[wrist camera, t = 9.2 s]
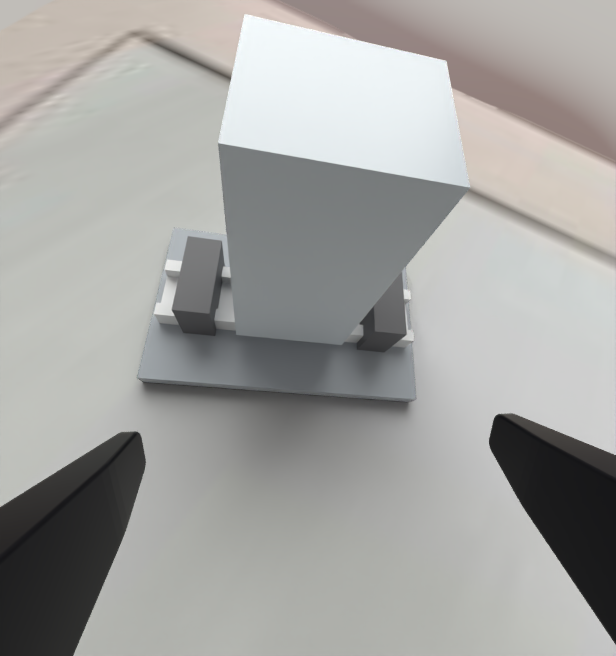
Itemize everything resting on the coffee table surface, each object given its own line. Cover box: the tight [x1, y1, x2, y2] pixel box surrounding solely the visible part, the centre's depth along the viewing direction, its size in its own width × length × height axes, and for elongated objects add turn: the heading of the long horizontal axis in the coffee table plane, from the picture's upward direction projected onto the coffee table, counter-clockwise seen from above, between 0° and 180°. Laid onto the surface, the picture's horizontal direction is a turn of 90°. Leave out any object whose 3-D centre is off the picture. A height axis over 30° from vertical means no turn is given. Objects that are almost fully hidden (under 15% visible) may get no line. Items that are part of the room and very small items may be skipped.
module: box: [218, 14, 470, 345], centre depth 14 cm, size 6×6×12 cm
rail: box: [137, 227, 416, 402], centre depth 20 cm, size 16×10×4 cm, turn 88°
